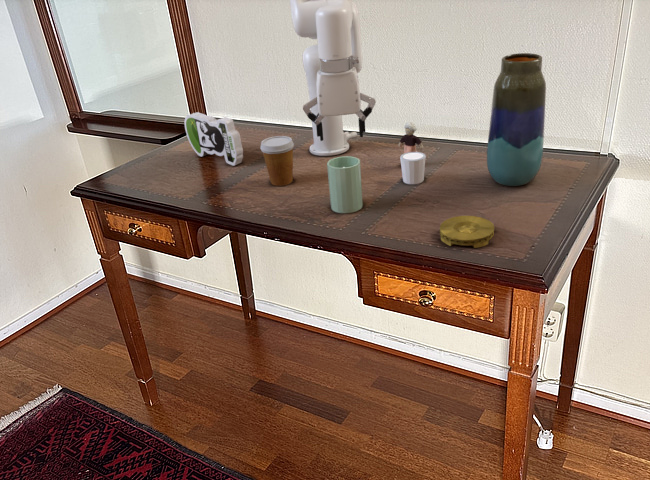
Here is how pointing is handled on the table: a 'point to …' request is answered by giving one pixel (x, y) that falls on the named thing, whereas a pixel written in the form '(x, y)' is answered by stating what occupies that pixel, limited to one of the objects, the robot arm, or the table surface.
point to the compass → (467, 231)
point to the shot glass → (413, 167)
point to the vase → (517, 120)
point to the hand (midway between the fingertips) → (341, 137)
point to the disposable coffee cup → (279, 159)
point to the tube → (345, 184)
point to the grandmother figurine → (410, 139)
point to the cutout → (214, 137)
